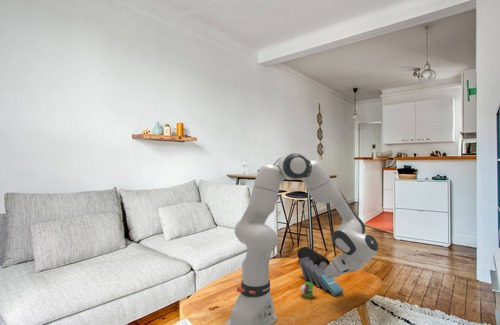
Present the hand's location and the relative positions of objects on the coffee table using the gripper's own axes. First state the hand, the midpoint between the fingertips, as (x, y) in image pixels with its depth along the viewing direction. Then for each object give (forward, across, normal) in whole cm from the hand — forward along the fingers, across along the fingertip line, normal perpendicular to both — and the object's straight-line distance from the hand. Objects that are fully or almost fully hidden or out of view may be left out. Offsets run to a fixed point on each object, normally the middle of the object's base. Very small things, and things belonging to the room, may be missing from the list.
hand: (336, 275), depth 135 cm
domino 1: (+20, 0, -8) cm, 21 cm away
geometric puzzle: (+10, +13, +3) cm, 17 cm away
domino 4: (+8, 0, +3) cm, 9 cm away
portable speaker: (+29, -13, -16) cm, 35 cm away
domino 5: (+5, 0, +7) cm, 8 cm away
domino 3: (+12, 0, -1) cm, 12 cm away
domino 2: (+16, 0, -4) cm, 16 cm away
